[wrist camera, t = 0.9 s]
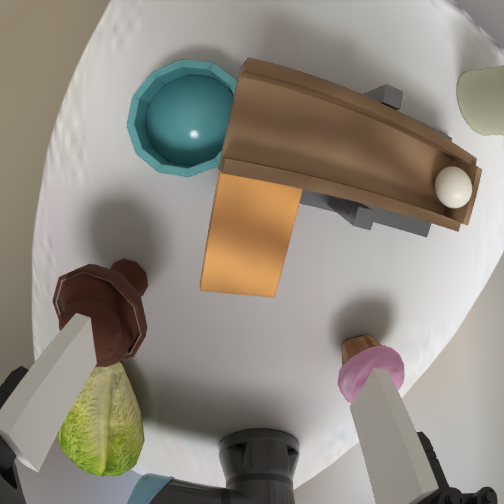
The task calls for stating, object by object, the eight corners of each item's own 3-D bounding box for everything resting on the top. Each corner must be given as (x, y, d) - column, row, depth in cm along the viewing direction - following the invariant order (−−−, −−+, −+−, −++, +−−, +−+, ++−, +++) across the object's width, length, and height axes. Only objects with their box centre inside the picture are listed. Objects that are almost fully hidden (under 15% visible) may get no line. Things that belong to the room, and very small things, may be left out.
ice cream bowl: (94, 229, 32) (16, 279, 18) (176, 253, 33) (128, 324, 19) (90, 300, 36) (32, 367, 22) (163, 325, 37) (126, 409, 23)
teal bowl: (234, 181, 31) (231, 185, 27) (133, 164, 30) (120, 166, 27) (256, 77, 27) (257, 69, 23) (153, 65, 26) (142, 57, 23)
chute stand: (422, 234, 32) (466, 262, 23) (251, 191, 31) (250, 208, 22) (447, 137, 28) (497, 140, 19) (277, 75, 27) (286, 47, 18)
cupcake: (321, 335, 37) (338, 388, 28) (381, 311, 36) (411, 357, 27) (336, 377, 40) (351, 427, 31) (389, 356, 39) (413, 401, 29)
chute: (400, 286, 32) (433, 313, 27) (198, 266, 26) (201, 304, 20) (441, 151, 27) (483, 160, 21) (235, 74, 21) (251, 53, 15)
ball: (444, 205, 25) (472, 217, 22) (422, 197, 24) (453, 208, 21) (453, 169, 24) (482, 178, 21) (432, 157, 23) (463, 165, 19)
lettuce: (83, 321, 43) (167, 354, 47) (64, 422, 42) (136, 448, 46) (54, 354, 29) (168, 399, 33) (45, 467, 28) (133, 499, 32)
